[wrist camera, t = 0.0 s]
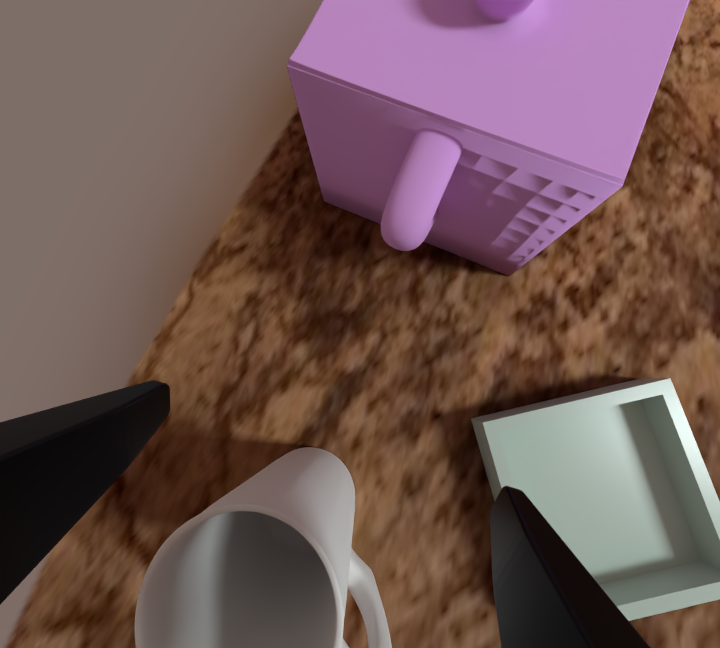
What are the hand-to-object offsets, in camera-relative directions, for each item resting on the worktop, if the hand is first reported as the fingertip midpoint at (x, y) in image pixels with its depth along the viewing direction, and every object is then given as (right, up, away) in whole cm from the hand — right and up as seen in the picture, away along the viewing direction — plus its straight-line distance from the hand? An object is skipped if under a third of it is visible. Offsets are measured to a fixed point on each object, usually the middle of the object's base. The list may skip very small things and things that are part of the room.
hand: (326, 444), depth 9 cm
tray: (+16, -8, +13) cm, 22 cm away
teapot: (+8, +16, +18) cm, 26 cm away
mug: (-1, -9, +14) cm, 17 cm away
